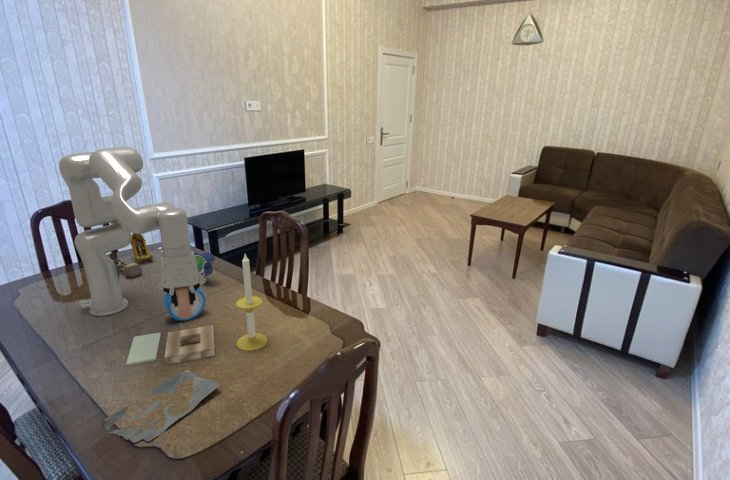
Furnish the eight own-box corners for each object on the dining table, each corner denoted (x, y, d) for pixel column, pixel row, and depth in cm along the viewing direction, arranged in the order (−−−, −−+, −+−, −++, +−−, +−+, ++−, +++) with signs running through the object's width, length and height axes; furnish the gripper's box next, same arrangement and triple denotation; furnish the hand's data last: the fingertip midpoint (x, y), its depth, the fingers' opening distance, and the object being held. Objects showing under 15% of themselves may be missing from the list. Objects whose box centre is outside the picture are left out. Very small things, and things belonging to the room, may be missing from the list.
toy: (128, 256, 184) (140, 257, 175) (132, 271, 186) (144, 274, 176) (111, 260, 179) (123, 261, 169) (116, 276, 181) (128, 279, 171)
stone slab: (136, 458, 90) (133, 451, 89) (101, 429, 98) (98, 422, 97) (221, 390, 109) (220, 384, 108) (186, 371, 117) (185, 365, 116)
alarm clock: (170, 326, 139) (164, 288, 134) (166, 318, 143) (160, 281, 138) (207, 315, 147) (203, 279, 141) (202, 308, 151) (198, 273, 146)
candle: (241, 354, 125) (232, 261, 114) (233, 338, 133) (224, 250, 122) (271, 345, 130) (266, 255, 119) (262, 330, 138) (256, 245, 127)
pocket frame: (165, 365, 119) (164, 357, 118) (169, 340, 131) (168, 332, 130) (214, 356, 124) (213, 348, 123) (213, 332, 136) (212, 325, 135)
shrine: (129, 260, 192) (123, 231, 187) (146, 255, 198) (141, 227, 193) (140, 266, 185) (134, 237, 180) (157, 261, 191) (152, 232, 186)
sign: (167, 274, 184) (161, 247, 181) (175, 271, 187) (169, 244, 184) (212, 286, 165) (206, 255, 161) (219, 282, 168) (214, 253, 164)
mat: (126, 365, 118) (126, 363, 118) (134, 338, 131) (134, 336, 131) (156, 360, 121) (155, 358, 121) (160, 334, 134) (160, 332, 134)
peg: (178, 319, 121) (174, 291, 117) (179, 313, 124) (175, 285, 121) (192, 317, 122) (188, 289, 119) (192, 311, 126) (189, 283, 122)
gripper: (143, 257, 109) (153, 314, 116) (207, 251, 115) (213, 305, 122) (146, 247, 116) (155, 302, 122) (207, 242, 122) (212, 294, 128)
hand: (184, 303), depth 122 cm, fingers closed on peg, 4 cm apart
